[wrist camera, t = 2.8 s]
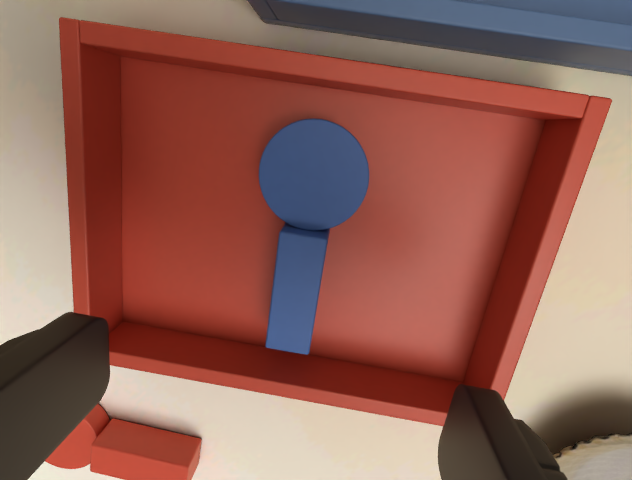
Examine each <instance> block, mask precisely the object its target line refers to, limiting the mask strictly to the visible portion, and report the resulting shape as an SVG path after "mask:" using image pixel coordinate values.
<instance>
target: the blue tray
mask: <svg viewBox="0 0 632 480" xmlns="http://www.w3.org/2000/svg"><path fill="white" fill-rule="evenodd" d="M247 1H248V2H249V4H250V5H251V6H252V7H253V9H254V10H255V11H256V13H257V14H258V15H259V16H260V18H261V19H262V20H263V22H265V23H271V24H278V25H285V26H292V27H299V28H306V29H312V30H319V31H326V32H333V33H340V34H347V35H354V36H361V37H368V38H375V39H381V40H388V41H395V42H402V43H409V44H416V45H423V46H430V47H437V48H443V49H450V50H457V51H464V52H471V53H478V54H485V55H492V56H499V57H506V58H512V59H519V60H526V61H533V62H540V63H547V64H554V65H561V66H568V67H574V68H581V69H588V70H595V71H602V72H609V73H616V74H623V75H630V76H632V0H247Z"/></svg>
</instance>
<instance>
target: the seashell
mask: <svg viewBox="0 0 632 480" xmlns="http://www.w3.org/2000/svg"><path fill="white" fill-rule="evenodd" d="M553 456H554V458H555V460H556V461H557V463H558V465H559V466H560V472H563V473H564V474H565V476H566V477H567V479H568V480H632V434H627V435H621V434H617V433H616V434H610V435H608V436H604V437H600V436H597V435H595V436H594V437H592V438H591V440H588V441H580V442H577V443H575V444H574V446H569V447H565V448H563V449H562V450H561V451H560V453H557V454H554V455H553Z"/></svg>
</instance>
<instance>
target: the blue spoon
mask: <svg viewBox="0 0 632 480" xmlns="http://www.w3.org/2000/svg"><path fill="white" fill-rule="evenodd" d="M259 184H260V188H261V192H262V194H263V197H264V199H265V201H266V203H267V204H268V206H269V207H270V209H271V210H272V211H273V212H274V213H275V214H276V215H277V216H278V217H279V218H280V219H282V220H283V221H284V222H286V223H285V225H284V226H283V228H282V229H281V231H280V232H279V238H278V246H277V254H276V262H275V270H274V278H273V286H272V295H271V303H270V311H269V319H268V327H267V335H266V343H265V346H266V347H267V348H271V349H277V350H282V351H288V352H293V353H299V354H305V355H308V354H309V351H310V346H311V340H312V334H313V328H314V322H315V316H316V310H317V304H318V298H319V292H320V286H321V280H322V274H323V268H324V262H325V256H326V250H327V244H328V238H329V231H330V229H329V228H333V227H335V226H337V225H340V224H341V223H343V222H345V221H346V220H347V219H349V218H350V217H351V216H352V215H353V214H354V213H355V212H356V211H357V210H358V208H359V207H360V205H361V204H362V202H363V200H364V198H365V195H366V193H367V189H368V185H369V166H368V161H367V158H366V155H365V152H364V150H363V148H362V147H361V145H360V143H359V142H358V141H357V139H356V138H355V137H354V136H353V135H352V134H351V133H350V132H349V131H348V130H346V129H345V128H344V127H342V126H340V125H338V124H336V123H334V122H331V121H328V120H324V119H315V118H313V119H303V120H299V121H296V122H293V123H291V124H289V125H287V126H285V127H283V128H282V129H281V130H279V131H278V132H277V133H276V134H275V135H274V136H273V137H272V138H271V139H270V141H269V142H268V144H267V145H266V147H265V149H264V151H263V153H262V156H261V160H260V164H259Z"/></svg>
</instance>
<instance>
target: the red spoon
mask: <svg viewBox="0 0 632 480" xmlns="http://www.w3.org/2000/svg"><path fill="white" fill-rule="evenodd" d="M200 448H201V439H200V438H196V437H191V436H187V435H183V434H179V433H174V432H170V431H166V430H161V429H157V428H153V427H148V426H144V425H140V424H136V423H131V422H127V421H123V420H118V419H112V420H111V421H110V420H109V417H108V415H107V414H106V412H105V411H104V409H103V408H102V407H101V406H100V405H99V404H97V405H96V406H95V407H94V408H93V409H92V411H91V412H90V413H89V414H88V415H87V416H86V417H85V418H84V419H83V420H82V421H81V422H80V423H79V425H78V426H77V427H76V428H75V429H74V430H73V431H72V432H71V433H70V434H69V435H68V436H67V437H66V439H65V440H64V441H63V442H62V443H61V444H60V445H59V446H58V447H57V448H56V449H55V450H54V451H53V453H52V454H51V455H50V456H49V457H48V458H47V459H46V460H45V461H46V462H48V463H50V464H52V465H54V466H57V467H60V468H65V469H77V468H81V467H84V466H87V465H88V464H90V471H91V472H95V473H99V474H103V475H108V476H112V477H116V478H120V479H125V480H191V479H192V477H193V475H194V472H195V470H196V468H197V466H198V463H199V455H200Z"/></svg>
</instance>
